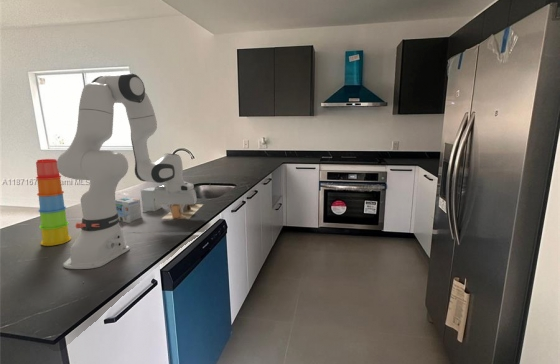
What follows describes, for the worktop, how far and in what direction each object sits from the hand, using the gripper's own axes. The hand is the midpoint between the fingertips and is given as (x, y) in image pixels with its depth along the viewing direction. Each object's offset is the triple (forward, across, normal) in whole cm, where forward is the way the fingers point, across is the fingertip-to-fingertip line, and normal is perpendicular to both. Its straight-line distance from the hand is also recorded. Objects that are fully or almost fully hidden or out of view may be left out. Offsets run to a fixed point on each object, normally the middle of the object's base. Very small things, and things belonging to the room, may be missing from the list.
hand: (176, 212), depth 151 cm
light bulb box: (+4, -24, -1) cm, 24 cm away
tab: (+2, 0, 0) cm, 2 cm away
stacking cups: (+4, -41, -28) cm, 50 cm away
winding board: (+3, 0, +10) cm, 10 cm away
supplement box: (+4, -19, +14) cm, 24 cm away
